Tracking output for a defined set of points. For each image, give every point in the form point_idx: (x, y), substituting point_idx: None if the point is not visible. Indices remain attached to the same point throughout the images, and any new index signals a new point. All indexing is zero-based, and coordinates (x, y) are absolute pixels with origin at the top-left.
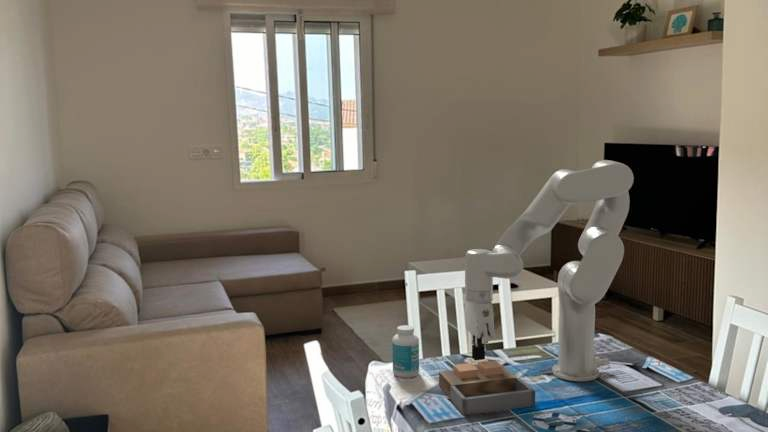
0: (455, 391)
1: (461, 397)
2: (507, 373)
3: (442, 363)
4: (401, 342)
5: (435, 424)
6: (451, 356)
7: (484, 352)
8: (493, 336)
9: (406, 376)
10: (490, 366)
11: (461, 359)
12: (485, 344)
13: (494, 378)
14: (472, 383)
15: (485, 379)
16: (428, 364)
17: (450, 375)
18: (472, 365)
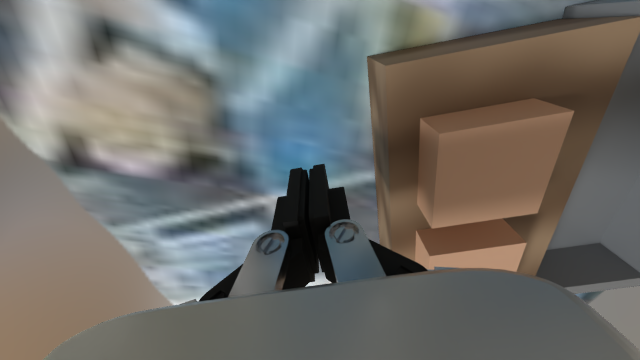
0: (577, 292)
1: (634, 285)
2: (547, 66)
3: (188, 244)
4: None
5: (595, 294)
6: (100, 211)
7: (326, 186)
8: (545, 279)
9: None
10: (525, 182)
11: (127, 182)
12: (363, 230)
13: (566, 157)
14: (546, 242)
15: (548, 196)
16: (203, 277)
17: None
18: (466, 255)
